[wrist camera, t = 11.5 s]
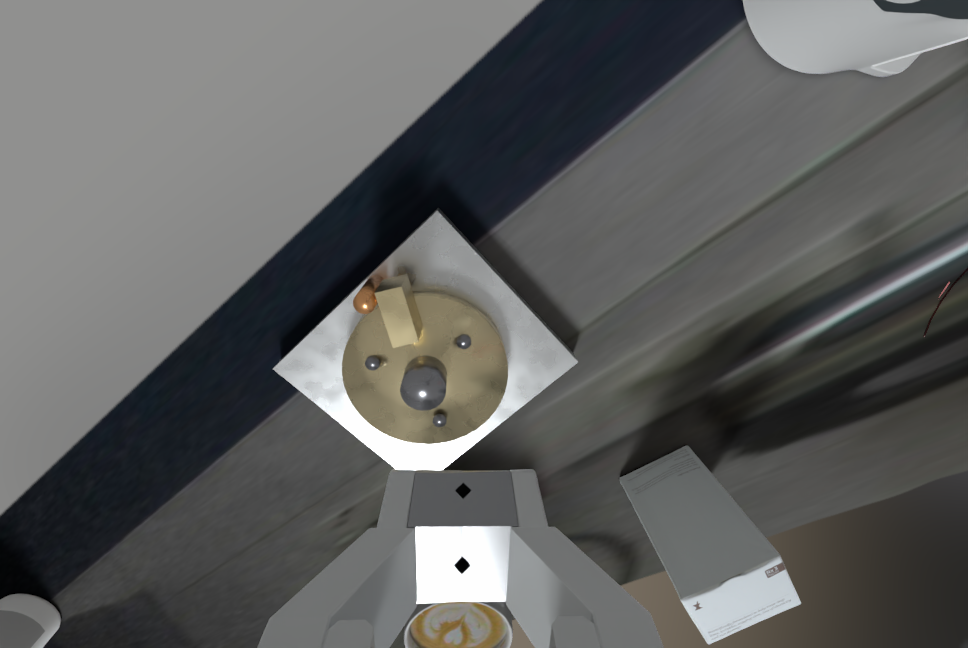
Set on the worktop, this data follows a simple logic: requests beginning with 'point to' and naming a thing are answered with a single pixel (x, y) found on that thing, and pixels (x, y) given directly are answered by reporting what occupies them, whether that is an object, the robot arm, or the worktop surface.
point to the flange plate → (439, 341)
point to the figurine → (942, 300)
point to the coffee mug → (459, 625)
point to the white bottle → (27, 621)
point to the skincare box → (708, 546)
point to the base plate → (449, 269)
